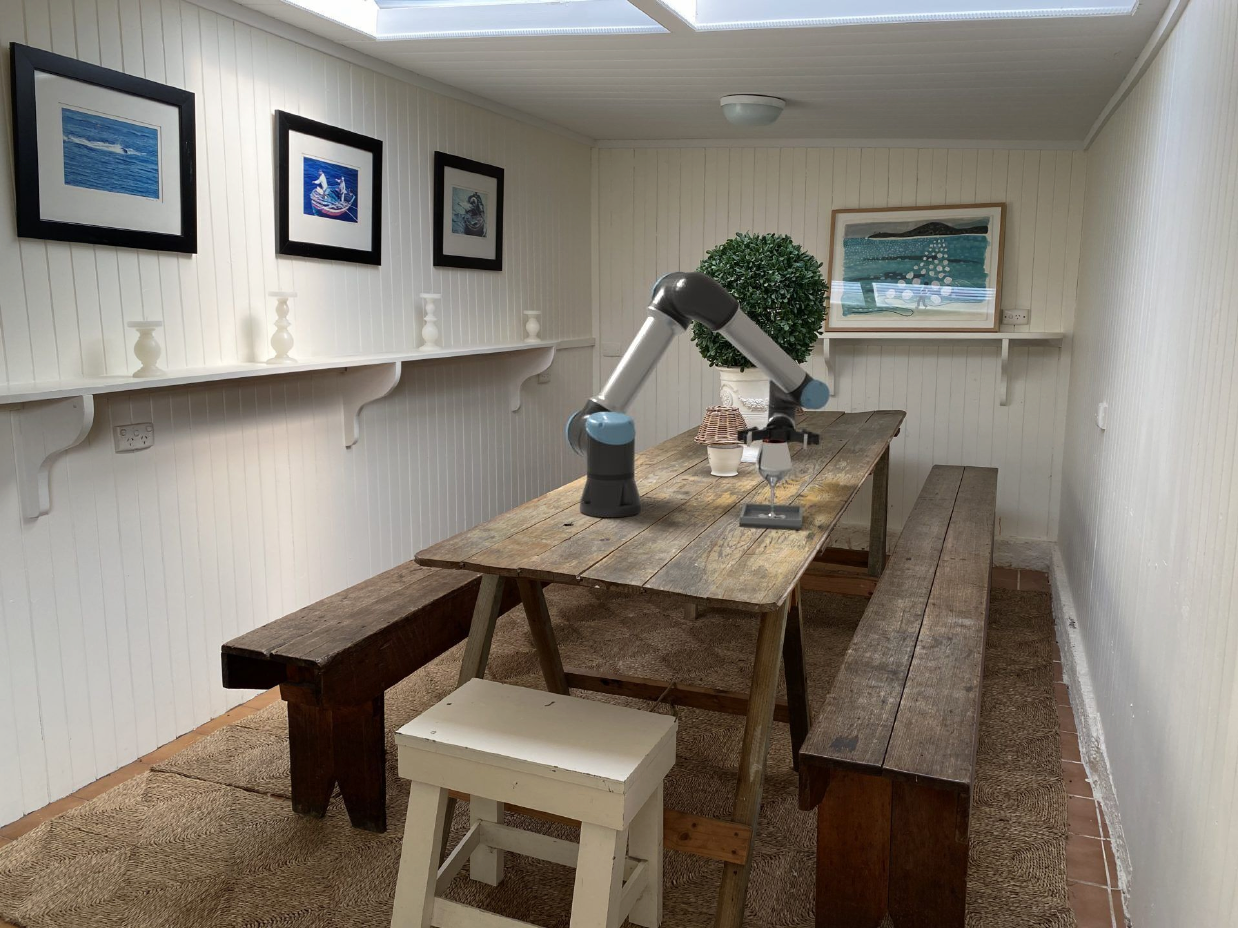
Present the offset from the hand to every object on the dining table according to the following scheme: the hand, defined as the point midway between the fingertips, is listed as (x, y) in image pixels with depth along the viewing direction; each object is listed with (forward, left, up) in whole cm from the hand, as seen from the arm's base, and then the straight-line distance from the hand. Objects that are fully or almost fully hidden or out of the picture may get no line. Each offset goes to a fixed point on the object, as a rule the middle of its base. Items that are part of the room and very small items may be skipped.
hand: (776, 442), depth 230 cm
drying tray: (0, -11, -17) cm, 20 cm away
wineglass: (0, -11, -16) cm, 19 cm away
